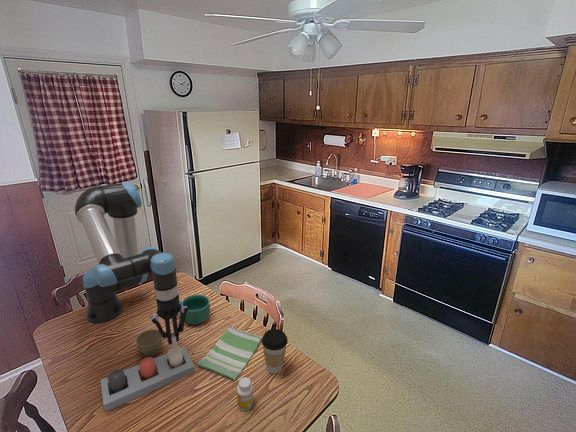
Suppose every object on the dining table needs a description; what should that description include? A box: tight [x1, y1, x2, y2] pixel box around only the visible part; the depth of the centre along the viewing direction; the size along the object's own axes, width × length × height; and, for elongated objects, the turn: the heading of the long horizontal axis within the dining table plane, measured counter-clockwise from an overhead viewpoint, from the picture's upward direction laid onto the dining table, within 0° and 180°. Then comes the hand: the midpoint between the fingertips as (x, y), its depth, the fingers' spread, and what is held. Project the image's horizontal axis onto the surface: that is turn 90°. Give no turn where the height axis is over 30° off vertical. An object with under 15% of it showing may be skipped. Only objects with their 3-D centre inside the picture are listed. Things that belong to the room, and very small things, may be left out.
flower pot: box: [135, 328, 163, 357], centre depth 127 cm, size 10×10×7 cm
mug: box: [178, 294, 211, 325], centre depth 147 cm, size 17×13×10 cm
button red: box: [138, 357, 157, 381], centre depth 114 cm, size 5×5×6 cm
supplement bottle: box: [236, 377, 254, 411], centre depth 105 cm, size 5×5×10 cm
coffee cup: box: [261, 328, 288, 375], centre depth 119 cm, size 10×10×15 cm
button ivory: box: [167, 346, 184, 369], centre depth 119 cm, size 5×5×6 cm
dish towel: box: [196, 326, 263, 382], centre depth 128 cm, size 18×23×3 cm
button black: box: [107, 368, 128, 395], centre depth 109 cm, size 5×5×6 cm
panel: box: [100, 346, 196, 412], centre depth 115 cm, size 12×30×3 cm, turn 124°
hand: (174, 348), depth 118 cm, fingers closed
